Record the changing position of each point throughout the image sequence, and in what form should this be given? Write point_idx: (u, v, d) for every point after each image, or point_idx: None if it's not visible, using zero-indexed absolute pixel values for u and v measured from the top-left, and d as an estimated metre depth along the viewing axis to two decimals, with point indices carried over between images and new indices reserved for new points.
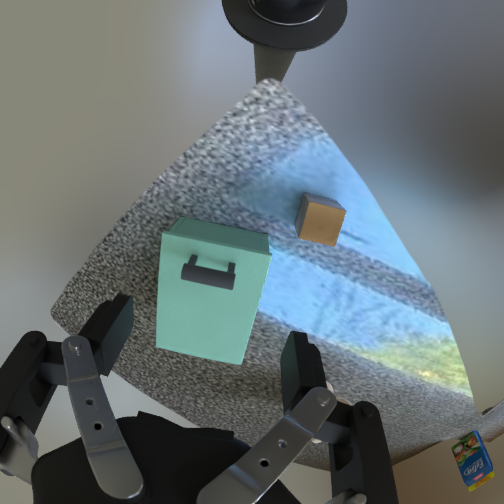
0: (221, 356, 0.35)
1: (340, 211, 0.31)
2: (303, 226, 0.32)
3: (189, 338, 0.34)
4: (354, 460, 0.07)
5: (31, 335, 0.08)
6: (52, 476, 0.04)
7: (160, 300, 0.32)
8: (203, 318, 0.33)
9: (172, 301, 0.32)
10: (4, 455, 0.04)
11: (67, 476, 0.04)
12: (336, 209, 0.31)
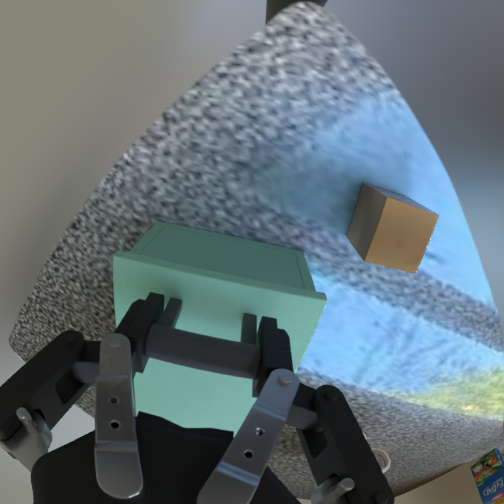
0: None
1: (430, 216, 0.16)
2: (374, 241, 0.17)
3: (177, 415, 0.19)
4: (330, 446, 0.08)
5: (68, 334, 0.09)
6: (53, 474, 0.04)
7: None
8: (198, 394, 0.18)
9: None
10: (12, 441, 0.05)
11: (67, 476, 0.04)
12: (425, 212, 0.16)
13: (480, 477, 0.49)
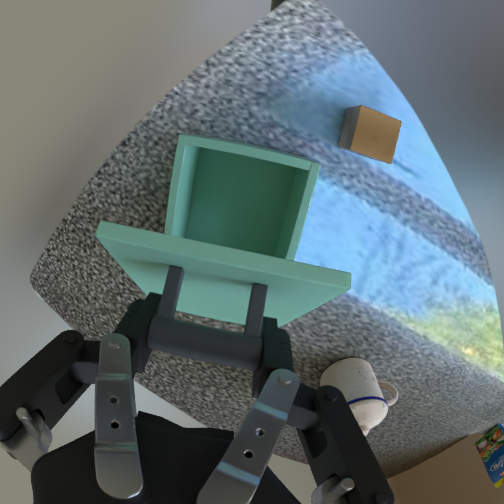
0: None
1: (395, 121, 0.22)
2: (355, 134, 0.23)
3: (198, 310, 0.24)
4: (330, 446, 0.08)
5: (68, 334, 0.09)
6: (53, 475, 0.04)
7: (142, 286, 0.19)
8: (215, 306, 0.21)
9: (160, 290, 0.19)
10: (12, 441, 0.05)
11: (67, 476, 0.04)
12: (391, 118, 0.22)
13: (486, 453, 0.54)
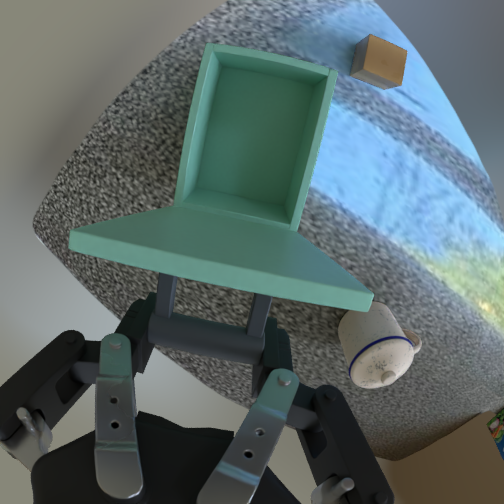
0: None
1: (401, 50, 0.21)
2: (366, 57, 0.21)
3: None
4: (329, 446, 0.08)
5: (69, 334, 0.09)
6: (53, 475, 0.04)
7: None
8: None
9: None
10: (12, 441, 0.05)
11: (67, 476, 0.04)
12: (397, 46, 0.20)
13: (498, 433, 0.54)
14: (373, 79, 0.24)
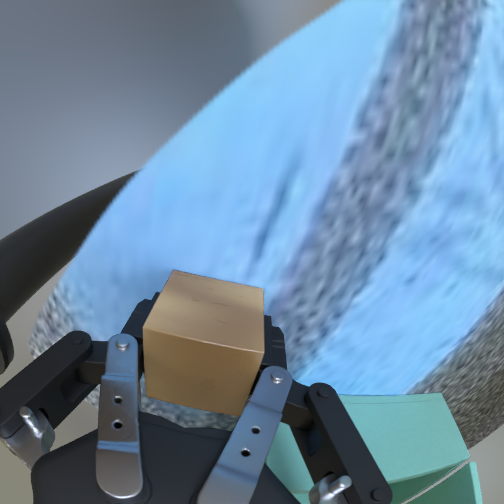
0: None
1: (149, 341, 0.10)
2: (208, 409, 0.11)
3: None
4: (325, 444, 0.08)
5: (75, 335, 0.09)
6: (53, 474, 0.04)
7: None
8: None
9: None
10: (14, 439, 0.05)
11: (67, 476, 0.04)
12: (146, 351, 0.10)
13: None
14: None
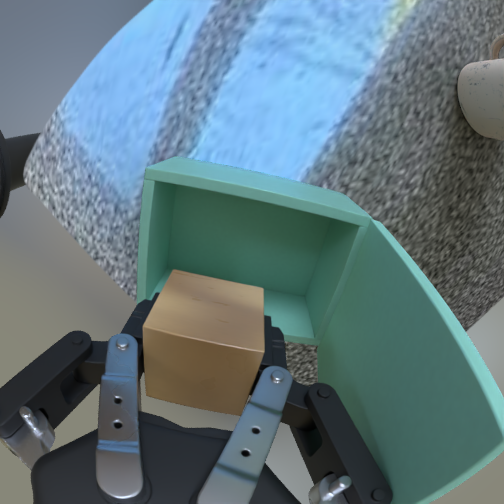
0: None
1: (149, 340, 0.10)
2: (208, 409, 0.11)
3: None
4: (325, 444, 0.08)
5: (75, 335, 0.09)
6: (53, 474, 0.04)
7: None
8: None
9: None
10: (14, 439, 0.05)
11: (67, 476, 0.04)
12: (146, 350, 0.10)
13: None
14: None
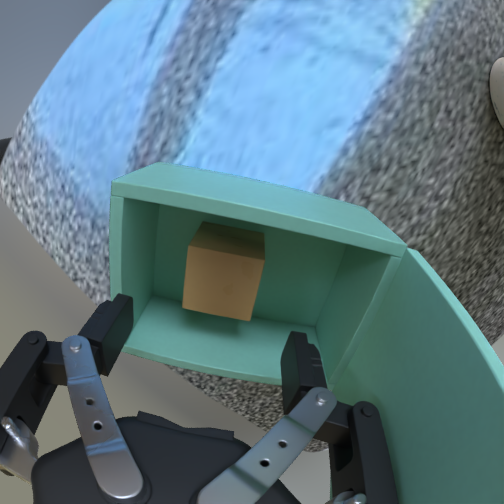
0: None
1: (191, 256, 0.17)
2: (226, 315, 0.18)
3: None
4: (354, 460, 0.07)
5: (31, 335, 0.08)
6: (52, 476, 0.04)
7: None
8: None
9: None
10: (4, 455, 0.04)
11: (67, 476, 0.04)
12: (188, 264, 0.17)
13: None
14: None
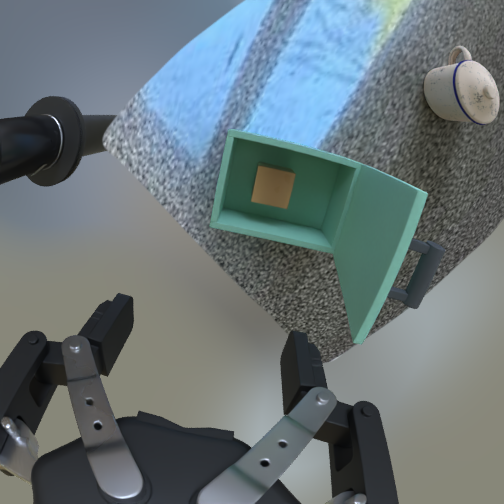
0: None
1: (259, 171, 0.33)
2: (275, 205, 0.34)
3: None
4: (354, 460, 0.07)
5: (31, 335, 0.08)
6: (52, 476, 0.04)
7: None
8: None
9: None
10: (4, 455, 0.04)
11: (67, 476, 0.04)
12: (257, 175, 0.33)
13: None
14: None
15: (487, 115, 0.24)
